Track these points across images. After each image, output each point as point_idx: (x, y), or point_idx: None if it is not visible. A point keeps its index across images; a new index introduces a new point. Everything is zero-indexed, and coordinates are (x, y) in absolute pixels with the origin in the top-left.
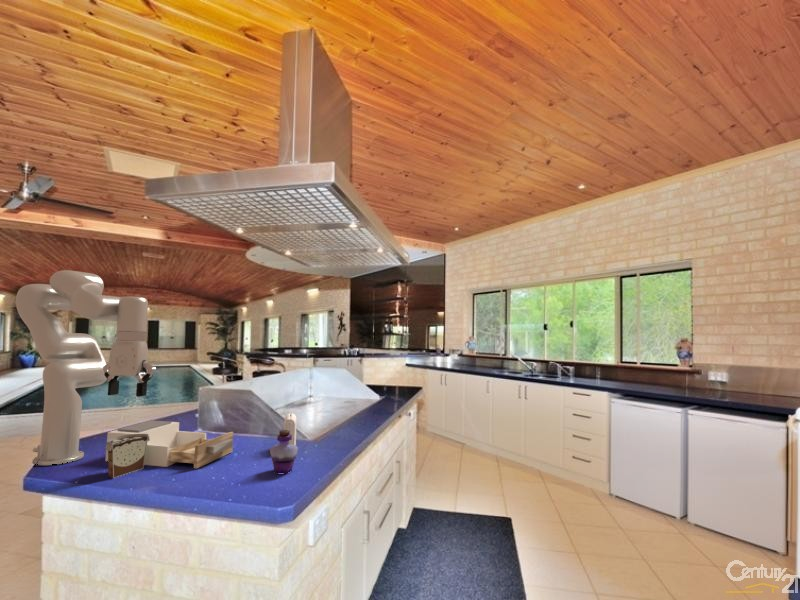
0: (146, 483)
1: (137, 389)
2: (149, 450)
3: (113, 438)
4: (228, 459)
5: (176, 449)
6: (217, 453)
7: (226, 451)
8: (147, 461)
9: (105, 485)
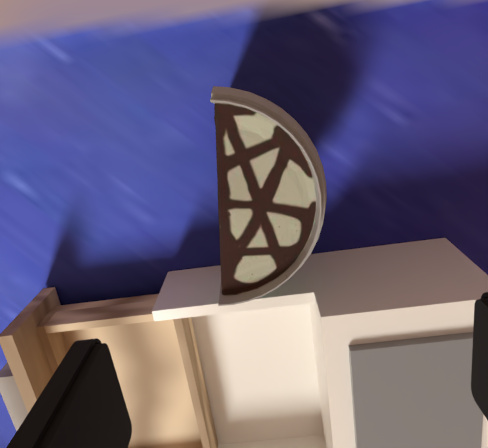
0: (63, 115)
1: (48, 394)
2: None
3: (317, 184)
4: None
5: (181, 350)
6: None
7: None
8: None
9: (178, 37)
